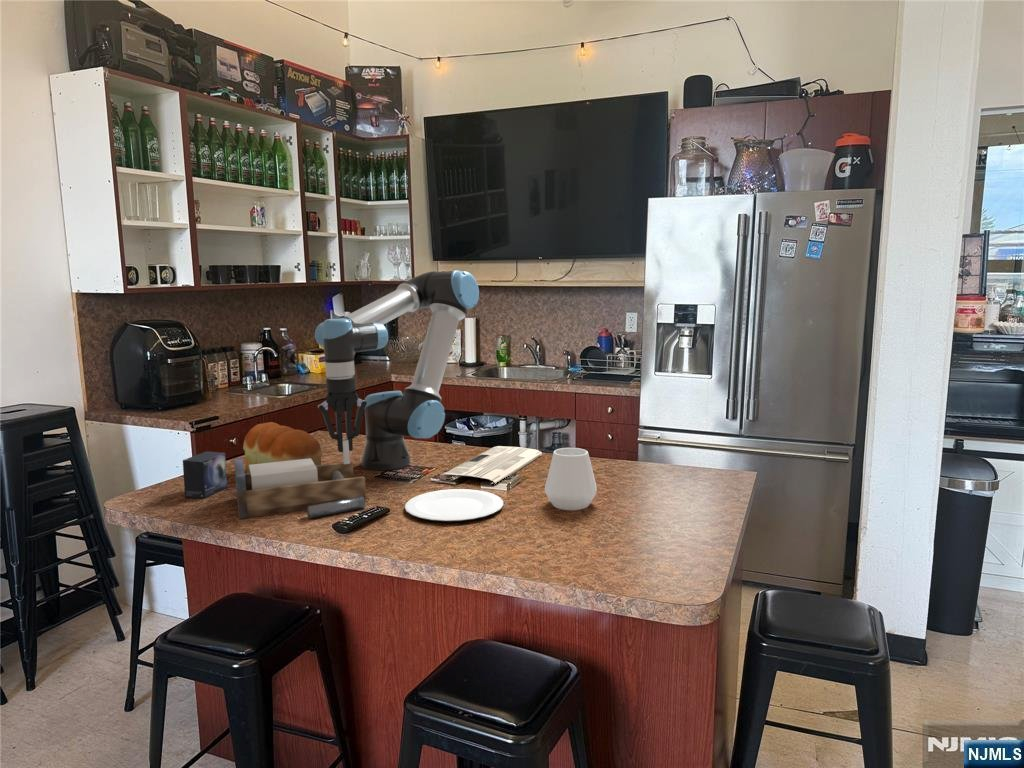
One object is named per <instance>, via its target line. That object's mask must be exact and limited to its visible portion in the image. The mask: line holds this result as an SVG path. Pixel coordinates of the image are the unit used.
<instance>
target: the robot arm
mask: <svg viewBox="0 0 1024 768" xmlns="http://www.w3.org/2000/svg"><path fill="white" fill-rule="evenodd" d="M479 299H480V289H479V285H478V282H477V280H476V277H474V275H473V274H471V272H468V271H467V270H466V271H465V270H464V271H463V270H458V269H457V270H456V269H455V270H452V271H450V270H449V271H446V270H445V271H427V272H424V273H421V274H419V275H417V276H415V277H412V278H410V279H408V280H407V281H404V282H402V283H400V284H399V285H398V286H397V287H396V289H395V290H394V291H391V292H389V293H388V294H386V295H384V296H381V297H380V298H378V299H376V300H375V301H372V302H370V303H369V304H366V305H365V306H362V307H360V308H359V309H357V310H355V311H353V312H351V313H349V314H346V315H345V316H342V317H340V318H329V319H326V320H324V321H323V322H321V323H319V324H318V325H317V326H316V328H315V331H314V338H315V341H316V343H317V345H318V346H320V347H321V348H323V354H324V365H325V366H324V367H325V368H324V369H325V376H326V377H327V378H326V380H325V381H326V382H325V383H326V396H325V401H323V402H322V403H318V405H317V408H318V410H319V411H320V412H321V413H322V417H323V418H324V419H323V420H324V423H325V425H326V429H327V430H328V431H327V432H328V435H329V437H330V438H331V439H332V440H336V442H337V450H338V452H339V453H341V454H342V456H341V457H342V458H341V459H342V463H344V464H350V462H351V457H350V452H352V451H353V450H354V448H353V447H354V446H353V439H354V438H356V437H360V436H359V435H360V431H361V425H362V420H363V415H364V420H365V421H364V423H365V436H366V437H365V438H366V439H365V446H364V449H363V452H362V456H361V467H362V468H364V469H367V470H371V471H372V470H373V471H391V470H396V469H397V470H398V469H402V468H406V467H408V466H409V465H410V464H411V456H410V455H411V454H410V452H409V450H408V448H407V445H406V442H405V438H404V437H412V438H415V439H430V438H433V436H435V435H437V434H438V433H439V432H440V430H441V429H442V428H443V426H444V423H445V419H446V413H445V407H444V406H443V404H442V396H441V395H440V389H441V386H442V382H443V378H444V376H445V375H444V374H445V371H446V368H447V365H448V362H449V358H450V353H451V349H452V347H453V345H454V344H453V343H454V339H455V337H456V333H457V330H458V326H459V322H460V321H462V320H464V319H466V316H467V312H468V310H470V309H473V308H474V307H476V305H478V303H479ZM428 308H429V309H430V311H431V317H430V318H431V319H430V320H429V324H428V328H427V332H426V335H425V338H424V341H423V343H422V344H423V345H422V348H421V351H420V354H419V357H418V358H419V359H418V361H417V365H416V368H415V370H414V374H413V378H412V382H411V383H410V385H409V386H407V387H405V388H404V391H403V392H402V391H401V390H391V391H389V390H388V391H382V392H376V393H375V392H374V393H371V394H368V395H366V397H365V398H364V399H361V398H359V395H358V393H357V390H356V389H357V387H356V386H357V385H356V378H355V377H354V375H356V371H355V353H360V352H370V351H376V350H380V349H383V348H385V346H387V344H388V341H389V333H388V330H387V327H386V326H385V324H387V323H389V322H392V320H393V321H394V320H395V319H396V318H398V317H400V316H402V315H404V314H406V313H407V312H408V313H414V312H416V311H418V310H422V309H428ZM355 405H356V406H357V408H356V411H355V412H356V414H355V419H354V424H352V410H353V408H354V406H355ZM328 406H329V407H330V408H331V409H332V410H333V411H334V417H335V431H336V433H335V431H334V427H333V423H332V421H331V418H330V416H329V412H328V410H329V407H328ZM342 412H343V413H344V421H345V434H346V438H343V424H342V423H343V422H342Z"/></svg>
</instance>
